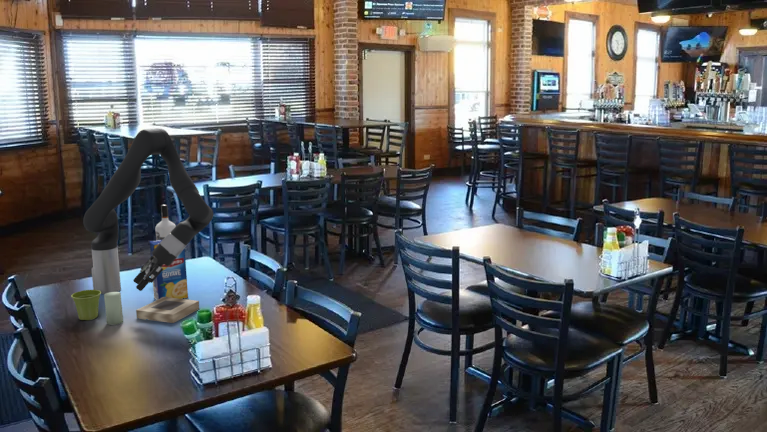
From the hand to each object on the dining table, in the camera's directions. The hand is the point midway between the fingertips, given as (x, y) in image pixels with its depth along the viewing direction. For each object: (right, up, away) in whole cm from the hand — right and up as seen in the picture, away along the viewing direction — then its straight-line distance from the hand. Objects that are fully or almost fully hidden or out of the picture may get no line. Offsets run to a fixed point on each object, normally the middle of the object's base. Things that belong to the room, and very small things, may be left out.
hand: (136, 285), depth 229 cm
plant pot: (-18, -12, +4) cm, 22 cm away
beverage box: (+4, -7, +24) cm, 26 cm away
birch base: (+9, -10, +7) cm, 15 cm away
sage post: (-7, -12, -1) cm, 14 cm away
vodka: (-6, -1, +55) cm, 55 cm away
